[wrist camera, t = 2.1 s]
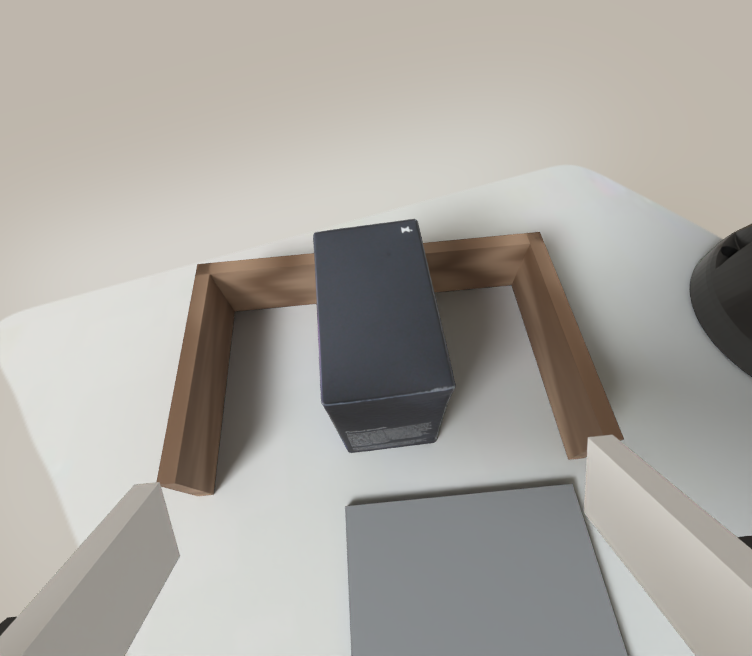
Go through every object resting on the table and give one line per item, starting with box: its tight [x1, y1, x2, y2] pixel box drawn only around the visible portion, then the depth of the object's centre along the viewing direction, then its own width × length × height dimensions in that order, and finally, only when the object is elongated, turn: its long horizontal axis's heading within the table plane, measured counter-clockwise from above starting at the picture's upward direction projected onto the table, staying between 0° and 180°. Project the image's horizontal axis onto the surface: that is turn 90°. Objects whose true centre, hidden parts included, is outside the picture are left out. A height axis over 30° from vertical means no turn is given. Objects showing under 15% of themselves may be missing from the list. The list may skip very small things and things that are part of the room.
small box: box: [313, 219, 456, 453], centre depth 24 cm, size 11×6×10 cm, turn 7°
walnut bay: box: [157, 232, 624, 496], centre depth 26 cm, size 25×15×5 cm, turn 95°
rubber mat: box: [345, 484, 628, 656], centre depth 21 cm, size 14×12×1 cm
